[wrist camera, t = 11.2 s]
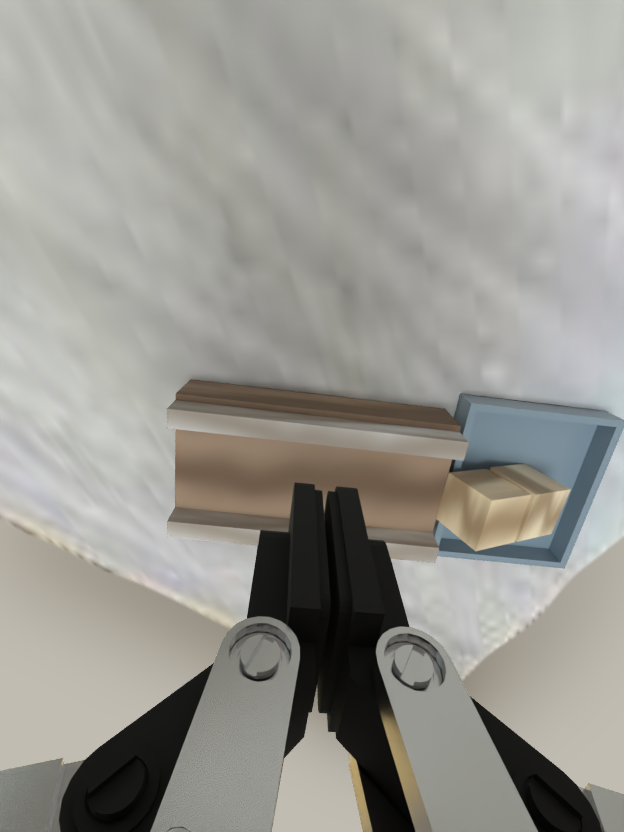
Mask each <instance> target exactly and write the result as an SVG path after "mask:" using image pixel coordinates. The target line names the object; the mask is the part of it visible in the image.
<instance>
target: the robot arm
mask: <svg viewBox="0 0 624 832" xmlns="http://www.w3.org/2000/svg"><path fill="white" fill-rule="evenodd" d="M316 687H317V688H318V710H319V713H327V719H328V731H329V732H336V739H337V740H338V741H339V742H340V743H341V744H342V745H343V747H344V748H345V749H346V750H347V751H348V752H349V767H350V772H351V777H352V781H353V786H354V791H355V796H356V800H357V805H358V810H359V815H360V819H361V824H362V829H363V832H624V794H621V793H618V792H615V791H612V790H608V789H605V788H602V787H599V786H596V785H593V784H589V783H588V785H587V786H586V787H585V789H584V788H581V787H578V786H577V785H576V784H575V783H574V782H573V781H572V780H571V779H570V778H569V777H568V776H567V775H566V774H565V773H564V772H563V771H561V770H560V769H559V768H558V767H557V766H555V765H554V764H553V763H552V762H550V761H549V760H548V759H547V758H546V757H544V756H543V755H542V754H541V753H539V752H538V751H537V750H535V749H534V748H533V747H532V746H531V745H529V744H528V743H527V742H526V741H525V740H523V739H522V738H521V737H520V736H518V735H517V734H516V733H514V732H513V731H512V730H511V729H510V728H508V727H507V726H506V725H505V724H504V723H502V722H501V721H500V720H499V719H497V718H496V717H495V716H494V715H492V714H491V713H490V712H489V711H487V710H486V709H485V708H484V707H483V706H481V705H480V704H479V703H478V702H476V701H475V700H474V699H472V698H471V697H470V696H469V694H468V692H467V690H466V688H465V686H464V684H463V682H462V680H461V678H460V676H459V674H458V672H457V670H456V668H455V666H454V664H453V662H452V660H451V658H450V657H449V655H448V654H447V652H446V651H445V649H444V647H443V646H442V645H441V644H440V643H439V642H437V641H436V640H435V639H434V638H433V637H431V636H430V635H428V634H427V633H425V632H423V631H421V630H418V629H415V628H412V627H409V624H408V620H407V617H406V613H405V609H404V606H403V602H402V599H401V595H400V591H399V588H398V584H397V580H396V577H395V573H394V570H393V566H392V562H391V559H390V555H389V552H388V548H387V545H386V542H385V541H384V540H372V539H368V535H367V530H366V525H365V521H364V516H363V512H362V507H361V503H360V498H359V494H358V490H357V488H350V487H339V486H336V488H335V492H334V491H328V493H327V498H326V504H325V510H324V506H323V493H322V490H315V484H307V483H297V482H294V488H293V496H292V504H291V512H290V521H289V529H288V532H279V531H268V530H260V535H259V542H258V549H257V555H256V562H255V569H254V575H253V582H252V588H251V595H250V602H249V608H248V615H247V619H245V620H243V621H241V622H239V623H237V624H236V625H235V626H233V627H232V628H231V629H230V630H229V631H228V632H227V634H226V636H225V637H224V639H223V641H222V643H221V646H220V648H219V651H218V654H217V656H216V659H215V662H214V663H213V664H212V665H211V666H209V667H208V668H207V669H205V670H204V671H203V672H201V673H200V674H198V675H197V676H196V677H194V678H193V679H192V680H190V681H189V682H187V683H186V684H185V685H184V686H182V687H181V688H179V689H178V690H177V691H175V692H174V693H172V694H171V695H170V696H168V697H167V698H166V699H164V700H163V701H162V702H160V703H159V704H157V705H156V706H155V707H153V708H152V709H151V710H150V711H148V712H147V713H145V714H144V715H142V716H141V717H140V718H138V719H137V720H136V721H134V722H133V723H132V724H130V725H129V726H128V727H126V728H125V729H124V730H122V731H121V732H119V733H118V734H117V735H115V736H114V737H113V738H111V739H110V740H108V741H107V742H106V743H104V744H103V745H102V746H100V747H99V748H98V749H97V750H95V751H94V752H93V753H92V754H91V755H90V756H89V757H88V758H87V759H86V760H83V761H78V762H74V763H69V764H64V762H63V758H61V759H56V760H51V761H46V762H42V763H37V764H32V765H27V766H23V767H18V768H13V769H8V770H3V771H0V832H272V826H273V820H274V814H275V808H276V802H277V796H278V790H279V784H280V778H281V772H282V766H283V760H284V758H285V757H286V756H287V754H288V753H289V752H290V751H291V750H292V749H293V748H294V747H295V746H296V745H297V744H298V743H299V742H300V740H301V739H302V738H303V737H304V734H305V729H306V723H307V718H308V713H309V712H312V708H313V702H314V697H315V692H316Z"/></svg>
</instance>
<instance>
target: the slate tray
mask: <svg viewBox="0 0 624 832" xmlns="http://www.w3.org/2000/svg"><path fill="white" fill-rule="evenodd" d="M454 419H455V420H456V421H457V422H458V423H459V424H460V425H461V428H460V433H461V434H462V435H463V436H464V437H465V439H466V440H467V441H468V442H469V444H468V448H467V451H466V455H465V458H464V461H463V460H454V459H452V462H451V465H450V469H449V473H450V472H460V471H469V470H479V469H488V470H490V468H491V467H497V466H507V465H517V464H526V465H528V466H530V467H532V468H533V469H535V470H537V471H539V472H541V473H542V474H544V475H546V476H548V477H550V478H551V479H553V480H555V481H557V482H559V483H560V484H562V485H564V486H566V487H568V488H569V489H571V490H570V492H569V495H568V497H567V499H566V502H565V504H564V506H563V509H562V511H561V513H560V515H559V518H558V520H557V522H556V525H555V527H554V529H553V531H552V534H549V535H545V536H540V537H536V538H532V539H528V540H523V541H519V542H516V541H515V542H514V543H509V544H505V545H501V546H496V547H492V548H488V549H483V550H479V551H474V550H473V549H472V548H471V547H470V546H468V545H467V544H466V543H465V542H464V541H462V540H461V539H460V538H459V537H457V536H456V535H455V534H454V533H453V532H451V531H450V530H449V529H448V528H446V527H445V526H444V525H443V524H442V523H440V522H439V521H438V520H437V519H436V521H435V525H434V528H433V532H432V533H433V536H434V538H435V540H436V542H437V544H438V546H439V551H438V554H437V556H442V557H452V558H463V559H473V560H483V561H493V562H504V563H514V564H524V565H534V566H545V567H555V568H565V566H566V564H567V561H568V559H569V557H570V554H571V552H572V549H573V547H574V545H575V542H576V540H577V538H578V535H579V533H580V530H581V528H582V526H583V523H584V521H585V519H586V516H587V514H588V511H589V509H590V507H591V504H592V502H593V499H594V497H595V495H596V492H597V490H598V488H599V485H600V483H601V480H602V478H603V476H604V473H605V471H606V469H607V466H608V464H609V461H610V459H611V457H612V454H613V452H614V450H615V447H616V445H617V442H618V440H619V438H620V435H621V433H622V430H623V428H624V420H623V419H621V418H619V417H617V416H615V415H613V414H610V413H608V412H606V411H601V410H593V409H584V408H576V407H567V406H559V405H550V404H542V403H533V402H524V401H516V400H507V399H499V398H490V397H482V396H473V395H465V394H460V397H459V401H458V405H457V409H456V413H455V417H454ZM449 473H448V474H449ZM447 478H448V477H447ZM446 481H447V480H446ZM445 485H446V484H445ZM443 492H444V491H443ZM442 496H443V495H442Z"/></svg>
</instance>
